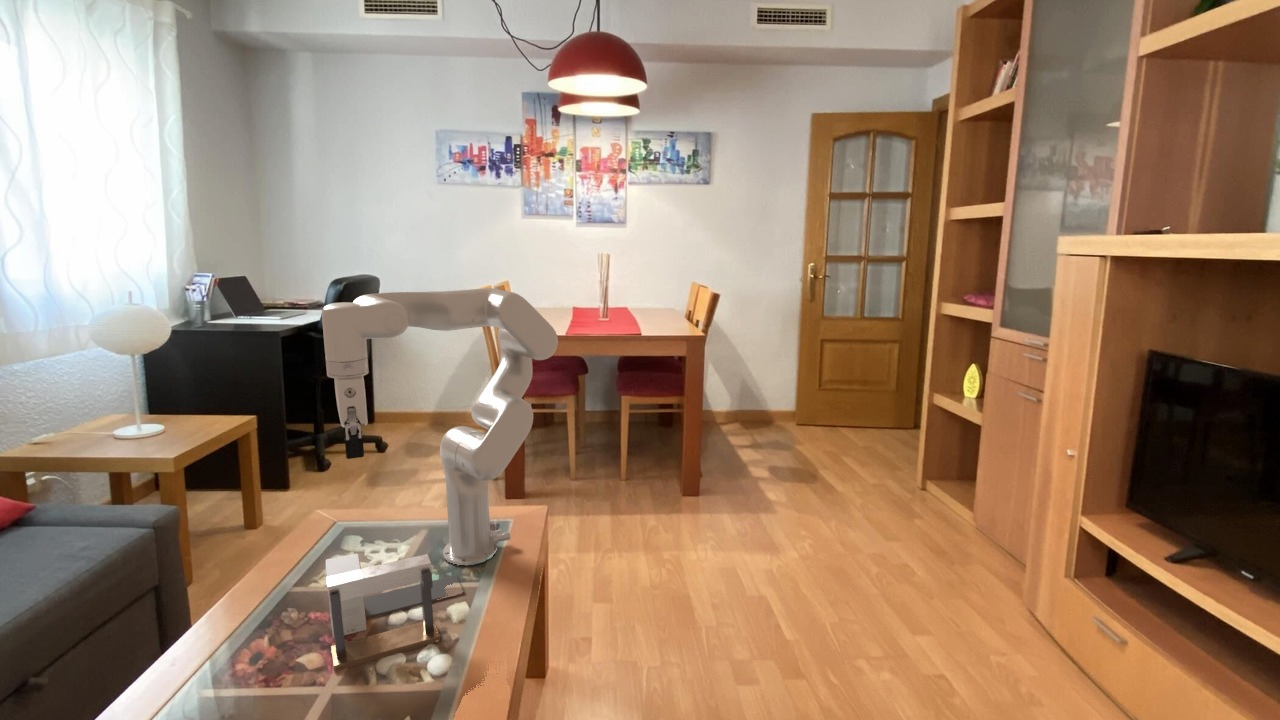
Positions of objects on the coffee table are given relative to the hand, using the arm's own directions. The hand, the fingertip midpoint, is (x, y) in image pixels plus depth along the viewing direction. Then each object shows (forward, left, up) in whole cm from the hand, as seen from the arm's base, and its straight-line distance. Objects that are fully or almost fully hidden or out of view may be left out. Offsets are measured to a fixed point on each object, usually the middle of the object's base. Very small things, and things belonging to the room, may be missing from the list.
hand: (354, 448), depth 139 cm
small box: (+5, +7, -35) cm, 36 cm away
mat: (-9, +4, -34) cm, 36 cm away
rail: (-1, +18, -21) cm, 28 cm away
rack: (-1, +18, -34) cm, 39 cm away
